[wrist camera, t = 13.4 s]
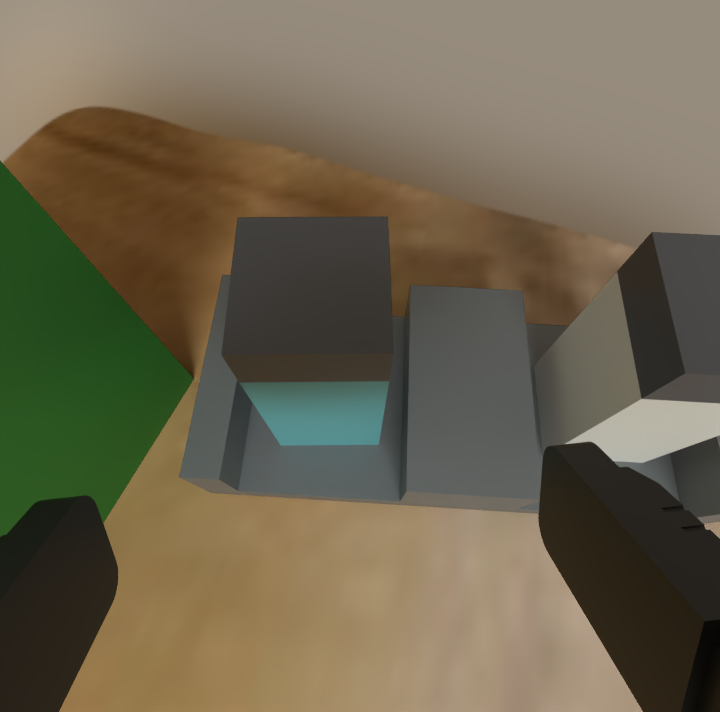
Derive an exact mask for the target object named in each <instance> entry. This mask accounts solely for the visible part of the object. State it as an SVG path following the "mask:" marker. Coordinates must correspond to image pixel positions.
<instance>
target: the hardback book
mask: <svg viewBox="0 0 720 712" xmlns="http://www.w3.org/2000/svg"><path fill="white" fill-rule="evenodd" d="M193 380H194V378H193V377H192V376H191V375H190V374H189V373H188V372H187V370H186V369H185V368H184V367H183V366H182V365H181V364H180V363H179V361H178V360H177V359H176V358H175V357H174V356H173V355H172V354H171V352H170V351H169V350H168V349H167V348H166V347H165V346H164V345H163V343H162V342H161V341H160V340H159V339H158V338H157V337H156V336H155V334H154V333H153V332H152V331H151V330H150V329H149V328H148V327H147V325H146V324H145V323H144V322H143V321H142V320H141V319H140V318H139V316H138V315H137V314H136V313H135V312H134V311H133V310H132V309H131V307H130V306H129V305H128V304H127V303H126V302H125V301H124V300H123V298H122V297H121V296H120V295H119V294H118V293H117V292H116V291H115V289H114V288H113V287H112V286H111V285H110V284H109V283H108V282H107V280H106V279H105V278H104V277H103V276H102V275H101V274H100V273H99V271H98V270H97V269H96V268H95V267H94V266H93V265H92V264H91V262H90V261H89V260H88V259H87V258H86V257H85V256H84V255H83V253H82V252H81V251H80V250H79V249H78V248H77V247H76V246H75V244H74V243H73V242H72V241H71V240H70V239H69V238H68V237H67V235H66V234H65V233H64V232H63V231H62V230H61V229H60V228H59V226H58V225H57V224H56V223H55V222H54V221H53V220H52V219H51V217H50V216H49V215H48V214H47V213H46V212H45V211H44V210H43V208H42V207H41V206H40V205H39V204H38V203H37V202H36V201H35V199H34V198H33V197H32V196H31V195H30V194H29V193H28V192H27V190H26V189H25V188H24V187H23V186H22V185H21V184H20V183H19V181H18V180H17V179H16V178H15V177H14V176H13V175H12V174H11V172H10V171H9V170H8V169H7V168H6V167H5V166H4V165H3V163H2V162H1V161H0V537H1V536H3V535H7V533H8V532H9V531H10V530H11V529H12V528H13V527H14V526H15V524H16V523H17V522H18V521H19V520H20V519H21V518H22V516H23V515H24V514H25V513H26V512H27V511H28V510H29V509H30V507H31V506H32V505H33V504H35V503H36V502H38V501H40V500H47V499H57V498H66V497H75V496H84V495H87V496H90V497H91V498H92V499H93V500H94V501H95V503H96V505H97V507H98V510H99V513H100V516H101V519H102V521H103V523H104V521H105V519H106V518H107V516H108V515H109V513H110V512H111V510H112V508H113V507H114V505H115V504H116V502H117V500H118V499H119V497H120V496H121V494H122V492H123V491H124V489H125V488H126V486H127V484H128V483H129V481H130V480H131V478H132V477H133V475H134V473H135V472H136V470H137V469H138V467H139V465H140V464H141V462H142V461H143V459H144V457H145V456H146V454H147V453H148V451H149V449H150V448H151V446H152V445H153V443H154V442H155V440H156V438H157V437H158V435H159V434H160V432H161V430H162V429H163V427H164V426H165V424H166V422H167V421H168V419H169V418H170V416H171V415H172V413H173V411H174V410H175V408H176V407H177V405H178V403H179V402H180V400H181V399H182V397H183V395H184V394H185V392H186V391H187V389H188V387H189V386H190V384H191V383H192V381H193Z"/></svg>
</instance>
